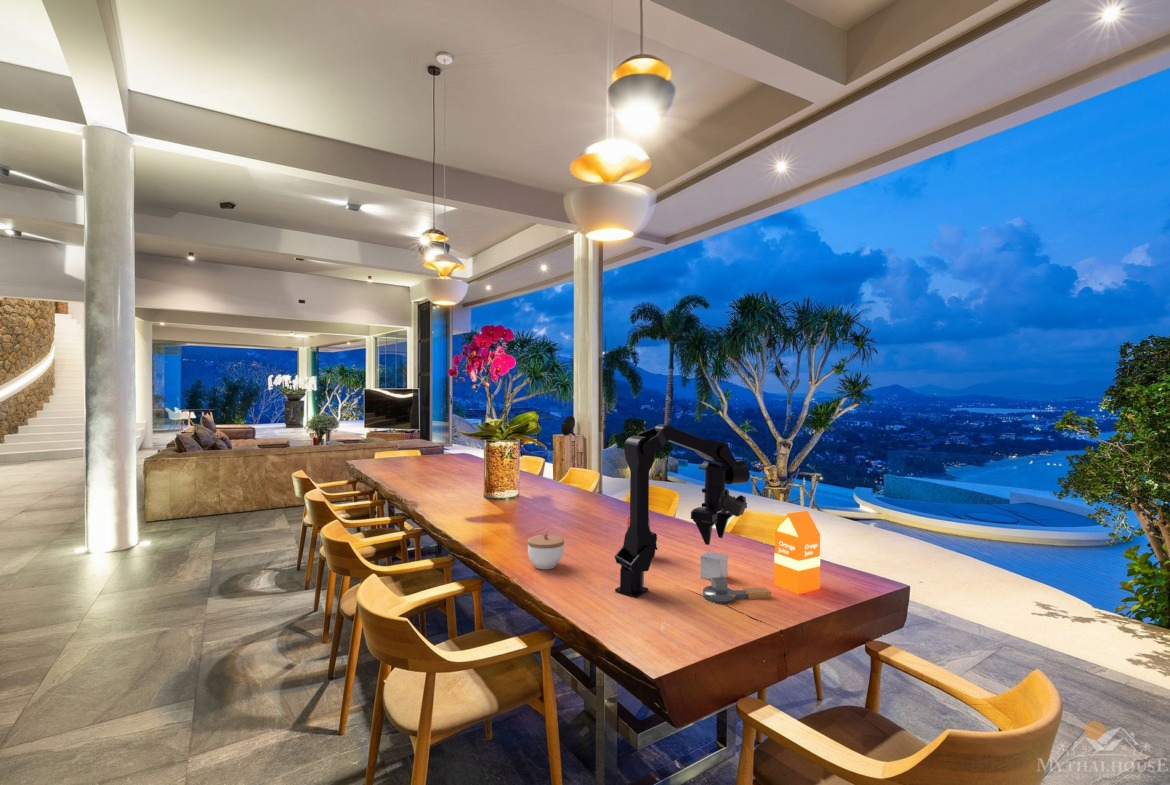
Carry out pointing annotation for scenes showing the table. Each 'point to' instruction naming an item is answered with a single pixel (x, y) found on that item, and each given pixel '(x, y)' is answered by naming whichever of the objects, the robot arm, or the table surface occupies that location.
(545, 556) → the lidded jar
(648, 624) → the table surface
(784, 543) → the orange juice
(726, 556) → the white metal cube
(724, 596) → the ratchet
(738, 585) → the table surface
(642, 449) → the robot arm
